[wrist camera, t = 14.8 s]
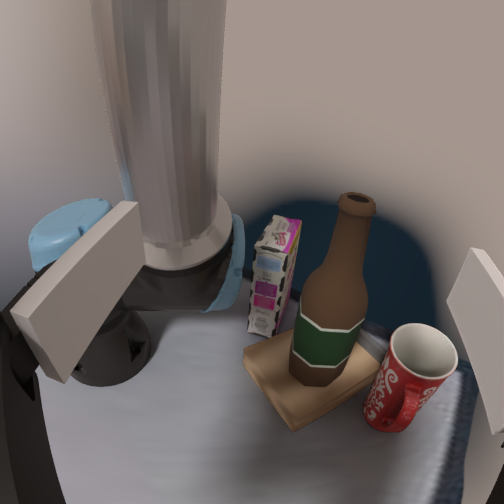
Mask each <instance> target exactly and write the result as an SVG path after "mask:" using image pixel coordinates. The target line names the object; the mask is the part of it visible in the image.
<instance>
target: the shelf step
mask: <svg viewBox="0 0 504 504" xmlns="http://www.w3.org/2000/svg"><path fill="white" fill-rule="evenodd" d="M293 331H294V328H292V329H290V330H288V331H285V332H283V333H281V334H278V335H276V336H273V337H271V338H268V339H266V340H263V341H261V342H258V343H256V344H253V345H251V346H248V347H246V348H244V358H243V366H244V367H245V369H246V370H247V372H248V373H249V374H250V376H251V377H252V378H253V380H254V381H255V383H256V384H257V385H258V387H259V388H260V389H261V391H262V392H263V393H264V395H265V396H266V397H267V399H268V400H269V401H270V403H271V404H272V405H273V407H274V408H275V409H276V411H277V412H278V413H279V415H280V416H281V417H282V418H283V420H284V421H285V422H286V424H287V425H288V426H289V427H290V429H291V430H292V431H293V432H295V431H297V430H298V429H300V428H302V427H304V426H305V425H307V424H309V423H311V422H312V421H314V420H316V419H318V418H319V417H321V416H323V415H324V414H326V413H328V412H329V411H331V410H333V409H334V408H336V407H337V406H339V405H341V404H342V403H344V402H345V401H347V400H348V399H350V398H351V397H353V396H354V395H356V394H357V393H359V392H360V391H362V390H363V389H365V388H366V387H368V386H369V385H371V384H372V383H373V382H374V381H375V379H376V376H377V374H378V372H379V370H380V367H381V365H382V362H383V360H384V358H385V355H386V353H387V351H386V350H385V349H384V348H383V347H382V346H380V345H379V344H378V343H377V342H376V341H375V340H374V339H373V338H372V337H370V336H369V335H368V334H367V333H366V332H365V331H364V330H363V329H360V332H359V334H358V337H357V339H356V342H355V344H354V347H353V349H352V352H351V354H350V357H349V359H348V361H347V364H346V366H345V368H344V370H343V372H342V374H341V375H340V376H339V377H338V378H337V379H335V380H334V381H333V382H332V383H331V384H329V385H328V386H327V387H311V386H304V385H303V384H301V383H300V382H299V381H298V380H297V379H296V378H295V377H293V376H292V375H291V374H290V373H289V353H290V346H291V341H292V336H293Z"/></svg>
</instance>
